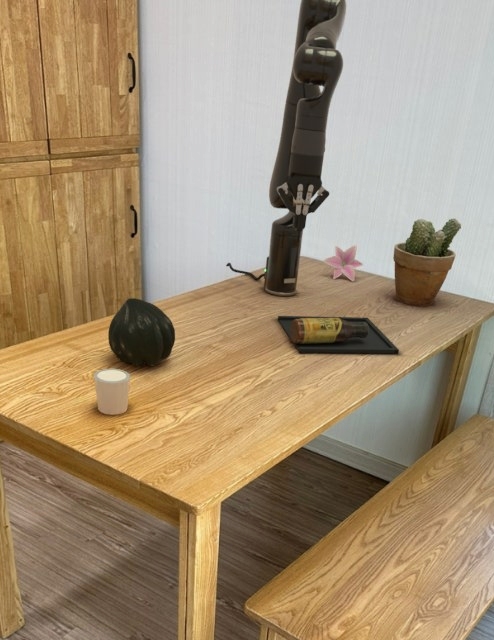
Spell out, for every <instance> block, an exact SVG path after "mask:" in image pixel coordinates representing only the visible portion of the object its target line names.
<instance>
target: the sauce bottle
mask: <svg viewBox="0 0 494 640" xmlns="http://www.w3.org/2000/svg"><path fill="white" fill-rule="evenodd" d="M368 332H369V328H368V324H367V323H366V322H359V323H352V322H348V321H345V320H342V319H340V318H300V319H294V320H293V321H292V323H291V327H290V336H291V339H292V341H293V342H294V343H296V344H298V343H299V344H315V343H336V342H344V341H345V340H346V339H348V338H353V337H359V338H366V337H367V335H368ZM291 339H290V340H291ZM292 341H291V342H292ZM293 342H292V343H293Z"/></svg>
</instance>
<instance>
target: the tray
mask: <svg viewBox="0 0 494 640" xmlns="http://www.w3.org/2000/svg"><path fill="white" fill-rule="evenodd" d="M300 318H340V319H342V320H345V321H348V322H352V323H359V322H366V323H367V324H368V328H369V332H368V335H367V337H366V338H359V337H353V338H348V339H346V340H345V341H344V342H336V343H315V344H299V343H298V344H296V343H294V342H293V341H292V339H291V336H290V327H291V323H292V321H293V320H294V319H300ZM277 321H278V323H279V324H280V326H281V327H282V329H283V330H284V332H285V333H286V335H287V337H288V338H289V340H290V341H291V343H292V344H293V345H294V348H295V349H296V350H297V351H298V353H299V354H326V355H327V354H331V355H334V354H336V355H339V354H340V355H399V352H400V349H399V348H398V347H397V346H396V345H395V344H394V343H393V342H392V341H391V340H390V339H389V338H388V337H387V336H386V335H385V334H384V333H383V332H382V331H381V330H380V329H379V328H378V326H377V325H375V324H374V322H372V320H371V319H370V318H368V317H353V316H350V317H349V316H347V317H346V316H313V315H311V316H310V315H308V316H307V315H306V316H305V315H277Z"/></svg>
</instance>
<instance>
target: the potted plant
mask: <svg viewBox="0 0 494 640" xmlns="http://www.w3.org/2000/svg"><path fill="white" fill-rule="evenodd" d="M411 229H412V231H411V233H410V235H409V237H407V238H406V239H405V241H404V242H399V243H396V244H394V248H393V257H392V259H393V262H394V287H395V288H394V289H395V298H396V300H397V301H399V302H401V303H402V304H406V305H409V306H415V307H428V306H431V305H432V304H433V302H434V300H435V299H436V297H437V295H438V294H439V292H440V290H441V288H442V287H443V285H444V283H445V282H446V279H447V277H448V274H449V271H451V269H452V267H453V264H454V262H455V259H456V255H457V254H456V253H455V251H453V250H452V249H450V248H451V246H450V245H451V244H452V243H453V240H454V237H456V235H457V234H458V233H459V231H460V230H461V229H462V224H461V222H460V221H459V220H458V219H456V218H450V219H448V221H446V222H445V224H444V225H443V226H442V228H441V229H438V230H436V229H435V227H434V225H433V222H432V221H431V220H429V221H428V220H426V219H424V218H418V219H416V220H414V221H413V225H412V228H411Z"/></svg>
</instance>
